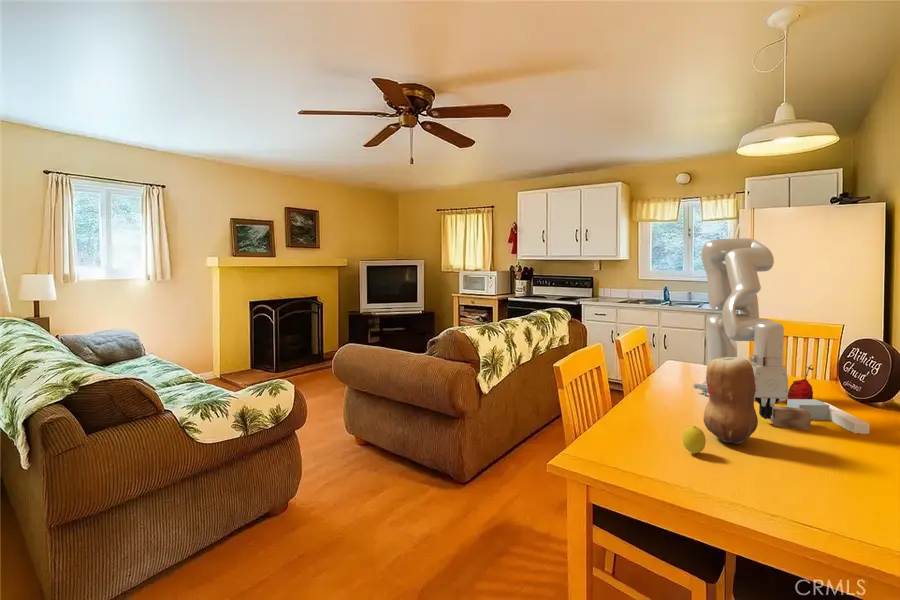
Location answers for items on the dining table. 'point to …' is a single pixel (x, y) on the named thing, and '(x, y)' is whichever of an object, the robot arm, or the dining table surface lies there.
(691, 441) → the lemon
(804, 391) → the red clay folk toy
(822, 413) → the slate block
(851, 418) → the stop rail
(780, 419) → the walnut block
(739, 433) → the butternut squash
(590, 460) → the dining table surface
